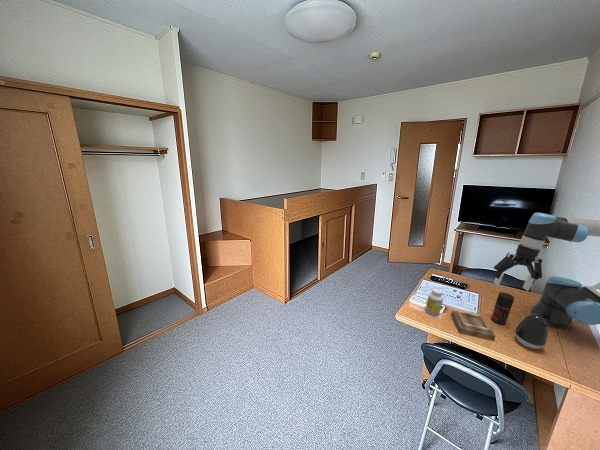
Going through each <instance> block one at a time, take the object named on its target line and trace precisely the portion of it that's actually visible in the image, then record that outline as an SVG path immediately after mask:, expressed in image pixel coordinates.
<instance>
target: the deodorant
mask: <svg viewBox="0 0 600 450" xmlns="http://www.w3.org/2000/svg"><path fill="white" fill-rule="evenodd" d="M514 301H515V297H514V296H513V294H510V293H508V292H504V291H503V292H502V291H500V292H498V296H497V298H496V302H495V304H494V308H493V310H492V313H491V316H490V320H491V322H492V323H494V324H497V325H500V326H506V323H507V320H508V318H509V315H510V311H511V310H512V306H513V304H514Z"/></svg>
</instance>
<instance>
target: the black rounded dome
mask: <svg viewBox="0 0 600 450" xmlns="http://www.w3.org/2000/svg"><path fill="white" fill-rule="evenodd" d="M549 327H551V325H549V324H547V323H546V320H545V319H544V318H543V317H542V316H541V315H538V314H531V313H530V314H528V315H527V316H525V317H524V318H523V319H522V320H521V321H520V322H519V324H518V325H517V326H516V328H515V331H514V332H515V337H516V339H517V341H518V342H519V343H520V344H521V345H523V346H525V347H527V348H528V349H529V348H530V349H533V350H539V349H542V348H544V347H545V346H546V345H547V343H548V337H549V329H548V328H549Z"/></svg>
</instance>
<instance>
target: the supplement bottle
mask: <svg viewBox="0 0 600 450" xmlns="http://www.w3.org/2000/svg"><path fill="white" fill-rule="evenodd" d="M426 301H427V302H426V305H425V311H426V312H427V313H428V314H429V315H432V316H439V315H440V313H441V309H442V305H443V302H444V297H443V290H441V289H440V288H436V287H435V288H432V289H431V292H430V293H429V294H428V298H427V300H426Z"/></svg>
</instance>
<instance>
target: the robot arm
mask: <svg viewBox="0 0 600 450" xmlns="http://www.w3.org/2000/svg"><path fill="white" fill-rule="evenodd" d="M588 236H590V237H600V219H588V218H575V217H573V218H572V217H562V216H561V217H560V216H556V215H555V216H554V215H551V214H549V213H548V214H547V213H543V212H534V213H533V214H532V216H531V218H530V219H529V220H528V224H527V226H526V227H525V231H524V233H523V235H522V237H521V239H520V241H519V244H518V246H517V248H516V249H515V251H516V252H515V253H514V254H513V253H511V252H507V254H506V255H505V256H504V258H502V259H501V260H500V261H499V262H498V263H497V264H495V265H494V266H493V269H494V270H496V273H495V275H494V281H493V283H494V284H495V285H496V286H500V284H501V281H502V279H503V277H504V275H505V272H506V271H508V270H510V269H511V268H513V267H514V266H524V267H526V268H527V271H528V272H529V275H528V276H527V278H526V280H524V281H525V282H524V284H523V286H522V289H524V290H526V292H528V291H529V290H530V288H531V287H532V285H534V283H535V281H536V280H539V279H542V278H543V272H542V271H543V269H542V263H543V259H542V258H540V257H538V256H539V254H540V253H541V249H542V248H543V246H544V244H545V241H546V240H547V238H553V239H557V240H562V241H568V242H570V243H571V242H572V243H581V242H584V241H585V240H586V239H587V238H588ZM533 264H534V265H533ZM529 312H530V315H531V314H538V315H541V316H542V317H543V318H544V319H545V320H546V323H547V324H549V325H550V327H551V326H552V327H555V328H560V329H570V328H571V326H572V324H573V319H574V320H575V321H577V322H579V323H581V324H583V325H588V326H589V325H590V326H594V325H595V326H596V325H597V326H598V325H600V281H599V282H598V283H596V284H594V285H592V286H588V285H583V284H582V283H581V282H580V281H577V280H573V279H571V278H570V279H569V278H565V277H561V276H555V275H554V276H553V275H552V276H550V277H548V279H547V280H546V282H545V285H544V288H543V290H542V293H541V296H540V298H539V300H538V301H537V302H536V303H535V304H534V305H533V306H532V307H531V309H530V311H529Z"/></svg>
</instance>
